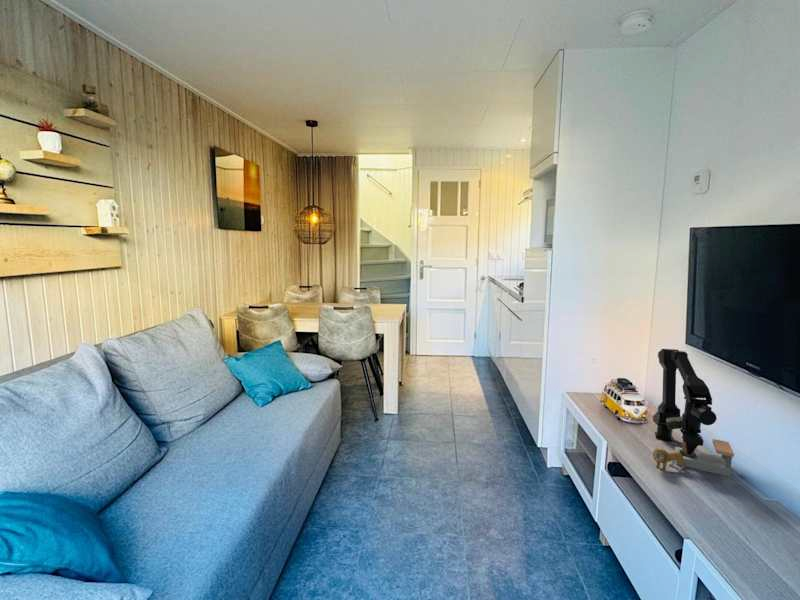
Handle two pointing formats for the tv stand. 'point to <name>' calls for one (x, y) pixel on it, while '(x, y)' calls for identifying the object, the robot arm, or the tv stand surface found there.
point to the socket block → (706, 462)
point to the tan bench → (724, 451)
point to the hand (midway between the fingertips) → (688, 452)
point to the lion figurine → (667, 458)
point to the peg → (684, 451)
